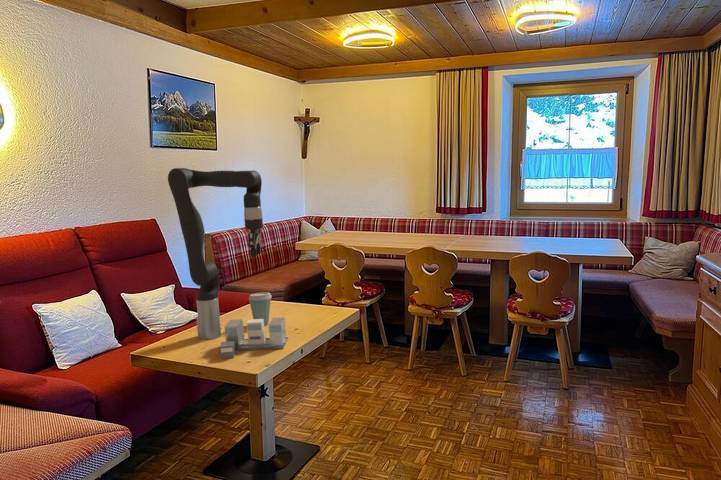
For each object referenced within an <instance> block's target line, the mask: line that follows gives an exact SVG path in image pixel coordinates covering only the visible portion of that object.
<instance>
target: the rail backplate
mask: <svg viewBox="0 0 721 480" xmlns="http://www.w3.org/2000/svg"><path fill="white" fill-rule="evenodd" d="M243 319H244V318H243ZM243 319H241V318H239V319H236V318H235V319H230V320H229V321H227V323H226V324H225V325H224V334H225V335H224V337H225V342H230V341H234V344H235V352H238V351H240V352H241V351H260V350H283V349H285V346H286V344H287V342H288V340H289V338H288V336H287V331H286V318H285V317H272V318H271V320H270V321H269V322H268V332H269V333H268V334H269V336H268V337H265V341H264V342H263V343H260V344H248V338H245V335H244V334H245V333H244V323H243Z"/></svg>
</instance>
